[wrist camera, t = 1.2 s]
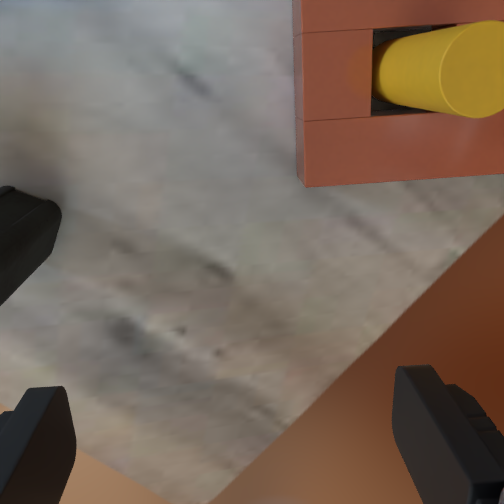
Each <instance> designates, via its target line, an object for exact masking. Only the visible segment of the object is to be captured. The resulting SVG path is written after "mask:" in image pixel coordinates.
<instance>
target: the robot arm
mask: <svg viewBox="0 0 504 504" xmlns="http://www.w3.org/2000/svg"><path fill="white" fill-rule="evenodd" d="M392 428H393V434H394V438H395V442H396V444H397V447H398V449H399V451H400V453H401V456H402V458H403V460H404V462H405V464H406V466H407V469H408V471H409V473H410V475H411V477H412V479H413V482H414V484H415V486H416V488H417V491H418V493H419V495H420V497H421V499H422V502H423V504H504V436H503V435H502V434H501V432H500V431H499V430H498V431H497V429H496V426H495V424H494V423H493V422H492V421H491V419H490V418H489V417H487V416H486V413H485V411H484V410H483V409H482V407H481V406H480V405H479V403H478V402H477V401H476V400H475V398H474V397H473V396H471V395H470V394H468V393H467V392H466V391H464V390H462V389H461V388H460V387H458V386H457V385H455V384H449V385H445V384H444V383H443V381H442V380H441V378H440V377H439V376H438V374H437V373H436V371H435V370H434V368H433V367H432V366H431V365H429V364H428V365H411V366H398V368H397V369H396V373H395V386H394V398H393V409H392ZM75 456H76V435H75V430H74V426H73V421H72V416H71V411H70V407H69V402H68V397H67V393H66V390H65V388H64V387H63V386H54V387H37V388H29V389H28V390H27V391H26V392H25V394H24V395H23V397H22V398H21V400H20V402H19V403H18V405H17V406H16V408H15V410H14V411H4V412H3V413H2V414H1V415H0V504H59V501H60V499H61V496H62V494H63V491H64V489H65V486H66V483H67V480H68V478H69V476H70V473H71V470H72V468H73V465H74V461H75Z"/></svg>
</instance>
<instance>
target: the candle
mask: <svg viewBox="0 0 504 504" xmlns="http://www.w3.org/2000/svg"><path fill="white" fill-rule="evenodd" d="M61 217H62V215H61V211H60V209H59V207H58V206H57V205H56V204H55V203H54V202H52V201H50V200H47V201H44V200H41V199H38V198H35V197H33V196H30V195H27V194H24V193H21V192H19V191H16V190H15V188H14V187H11V186H2V187H0V306H1V305H2V304H3V303H4V302H5V301H6V300H7V299H8V298H9V297H10V296H11V295H12V294H13V293H14V292H15V291H16V290H17V288H18V287H19V286H20V285H21V284H22V283H23V282H24V281H25V280H26V279H27V278H28V277H29V276H30V275H31V274H32V273H33V272H34V271H35V270H36V269H37V268H38V267H39V266H40V265H41V264H42V263H43V262H44V261H45V260H46V259H47V258H48V257H49V255H50V254H51V252H52V250H53V246H54V243H55V239H56V236H57V232H58V229H59V225H60V222H61Z"/></svg>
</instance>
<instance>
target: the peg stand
mask: <svg viewBox="0 0 504 504" xmlns="http://www.w3.org/2000/svg"><path fill="white" fill-rule="evenodd" d="M292 10H293V37H294V38H293V50H294V87H295V116H296V117H295V121H296V158H297V176H298V178H299V179H300V181H301V182H302V183H303V185H304V186H305V187H306V188H307V187H321V186H335V185H349V184H363V183H378V182H392V181H406V180H420V179H434V178H449V177H463V176H477V175H491V174H504V109H503V110H501V111H500V112H498V113H496V114H494V115H491V116H488V117H484V118H468V117H462V116H457V115H452V114H446V113H441V112H435V111H430V110H425V109H419V108H410V109H395V110H380V111H371V85H372V48H373V33H375V32H391V31H407V30H423V29H432V30H431V31H436V30H441V29H446V28H451V27H455V26H460V25H465V24H470V23H475V22H480V21H486V20H497V21H502V22H504V0H292Z"/></svg>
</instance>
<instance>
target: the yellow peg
mask: <svg viewBox="0 0 504 504" xmlns="http://www.w3.org/2000/svg"><path fill="white" fill-rule="evenodd" d="M371 95H372V96H373V97H374V98H376V99H377V100H380V101H382V102H387V103H392V104H398V105H403V106H408V107H414V108H419V109H425V110H430V111H435V112H441V113H446V114H452V115H457V116H462V117H468V118H484V117H488V116H491V115H494V114H496V113H498V112H500V111H501V110H503V109H504V22H502V21H497V20H486V21H480V22H475V23H470V24H465V25H460V26H455V27H451V28H446V29H441V30H436V31H431V32H426V33H421V34H416V35H411V36H406V37H401V38H396V39H391V40H387V41H385V42H382V43H381V44H379V45H378V46H376V47H375V48H374V49H373V50H372V85H371Z"/></svg>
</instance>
